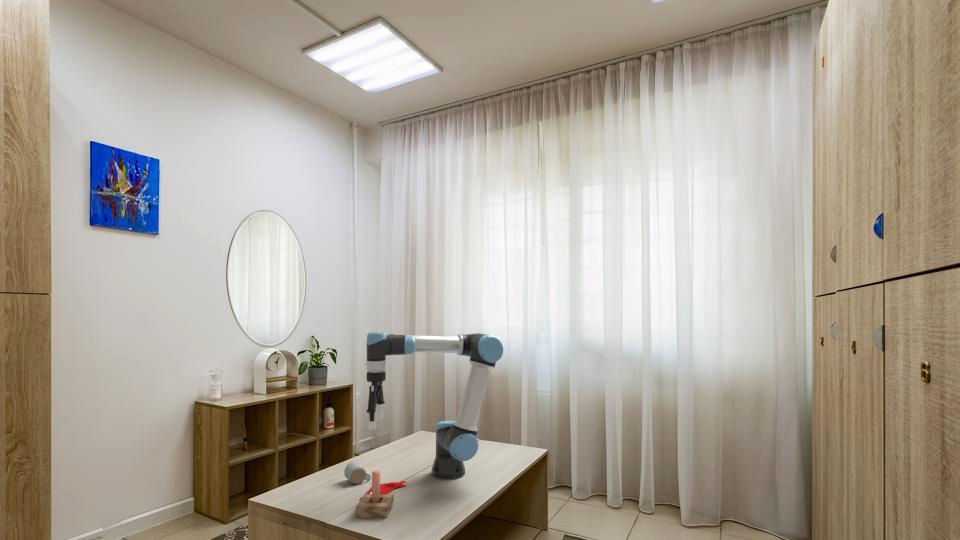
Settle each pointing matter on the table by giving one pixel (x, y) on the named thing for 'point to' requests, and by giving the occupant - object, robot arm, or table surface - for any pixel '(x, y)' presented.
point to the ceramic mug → (356, 473)
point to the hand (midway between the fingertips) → (375, 424)
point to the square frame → (374, 506)
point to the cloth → (388, 487)
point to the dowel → (375, 487)
